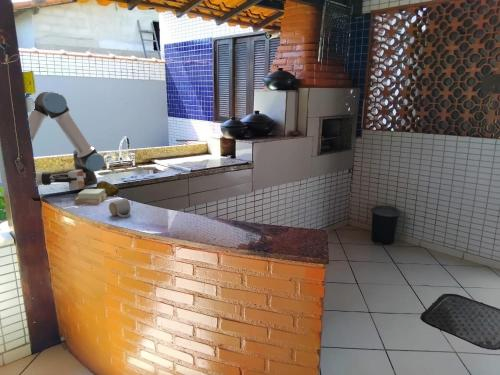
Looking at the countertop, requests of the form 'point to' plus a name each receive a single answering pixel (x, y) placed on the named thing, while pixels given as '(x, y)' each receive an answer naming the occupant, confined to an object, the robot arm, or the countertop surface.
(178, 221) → the countertop surface
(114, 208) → the ceramic mug
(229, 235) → the countertop surface
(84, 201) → the birch base slab
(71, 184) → the small box
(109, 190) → the potato
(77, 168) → the robot arm
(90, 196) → the sage top slab
